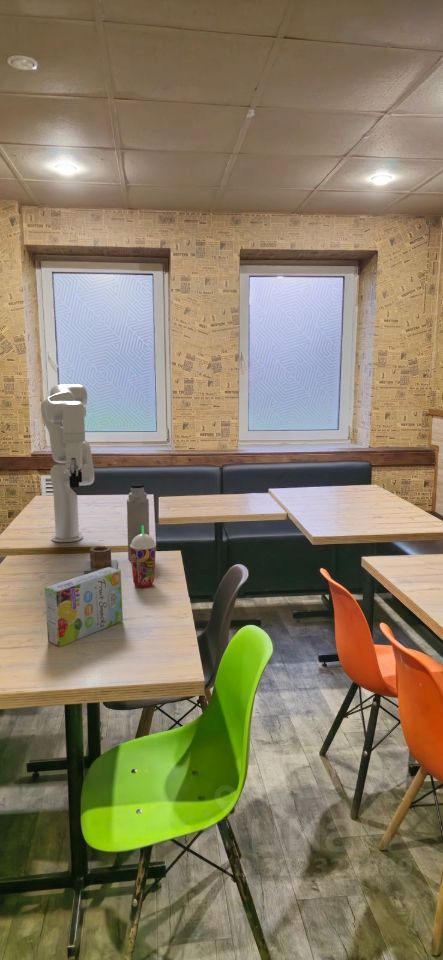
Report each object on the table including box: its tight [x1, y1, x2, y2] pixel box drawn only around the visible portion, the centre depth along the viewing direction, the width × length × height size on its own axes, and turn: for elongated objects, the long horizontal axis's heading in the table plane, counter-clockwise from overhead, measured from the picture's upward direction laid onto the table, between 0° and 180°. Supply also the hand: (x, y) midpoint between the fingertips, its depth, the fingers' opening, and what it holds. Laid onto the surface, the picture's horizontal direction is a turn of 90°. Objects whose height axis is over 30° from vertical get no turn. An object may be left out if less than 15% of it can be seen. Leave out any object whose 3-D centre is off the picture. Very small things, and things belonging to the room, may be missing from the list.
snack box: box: [44, 567, 124, 648], centre depth 160 cm, size 21×6×15 cm, turn 141°
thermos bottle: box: [126, 483, 150, 561], centre depth 223 cm, size 8×8×28 cm
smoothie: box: [130, 526, 157, 589], centre depth 195 cm, size 8×8×20 cm
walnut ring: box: [89, 545, 112, 569], centre depth 212 cm, size 7×7×6 cm
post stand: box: [83, 559, 119, 575], centre depth 212 cm, size 11×11×6 cm
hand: (76, 484), depth 218 cm, fingers open, 9 cm apart
